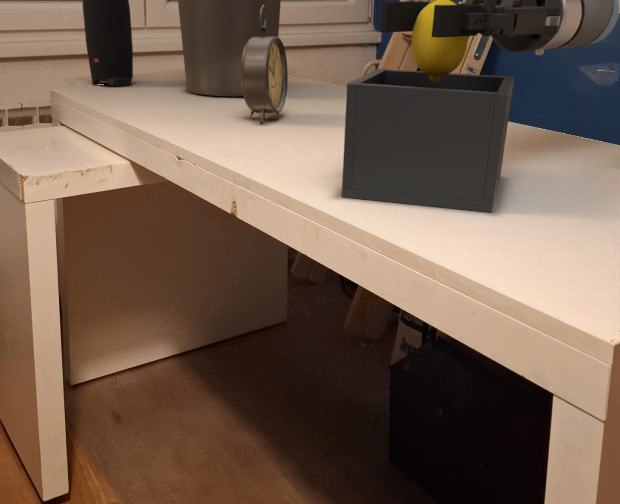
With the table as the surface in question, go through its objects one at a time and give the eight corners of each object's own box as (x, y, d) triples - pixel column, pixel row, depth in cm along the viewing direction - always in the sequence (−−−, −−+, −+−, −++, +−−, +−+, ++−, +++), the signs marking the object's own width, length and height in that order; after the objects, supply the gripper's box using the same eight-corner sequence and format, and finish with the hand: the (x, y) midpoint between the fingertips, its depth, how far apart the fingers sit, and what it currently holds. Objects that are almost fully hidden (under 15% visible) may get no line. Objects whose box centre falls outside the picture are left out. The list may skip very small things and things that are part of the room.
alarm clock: (269, 126, 112) (270, 6, 105) (235, 123, 113) (233, 5, 106) (289, 115, 121) (290, 4, 114) (257, 112, 122) (256, 3, 115)
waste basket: (167, 82, 153) (159, -88, 140) (265, 82, 159) (266, -82, 146) (187, 102, 130) (179, -99, 117) (301, 101, 135) (305, -92, 122)
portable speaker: (105, 88, 143) (94, -27, 134) (81, 82, 149) (69, -28, 140) (144, 85, 148) (136, -26, 139) (120, 80, 154) (111, -27, 145)
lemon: (400, 78, 78) (407, -7, 75) (449, 78, 80) (458, -5, 76) (419, 86, 74) (428, -4, 70) (471, 86, 75) (482, -3, 71)
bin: (500, 178, 86) (514, 76, 81) (491, 212, 73) (507, 94, 68) (371, 166, 90) (377, 68, 85) (341, 197, 77) (346, 83, 72)
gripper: (603, 58, 82) (488, 72, 67) (460, 44, 93) (334, 52, 78) (618, -18, 79) (501, -23, 63) (468, -24, 90) (338, -29, 75)
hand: (409, 19), depth 71 cm, fingers closed on lemon, 5 cm apart
